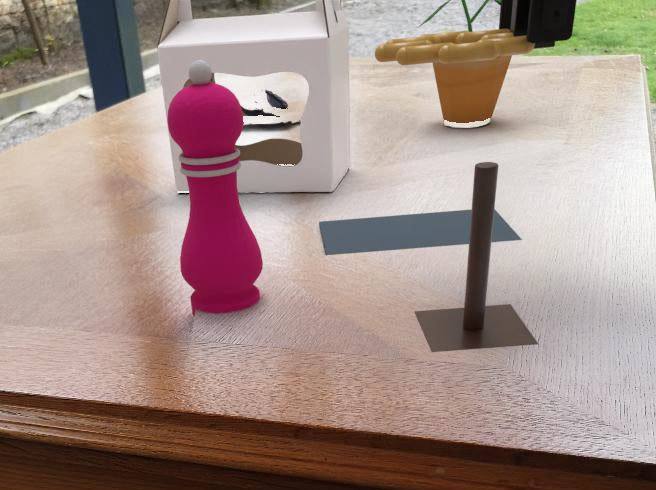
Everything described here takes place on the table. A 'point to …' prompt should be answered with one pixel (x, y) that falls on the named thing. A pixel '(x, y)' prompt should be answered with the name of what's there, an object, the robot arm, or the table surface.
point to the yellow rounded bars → (464, 43)
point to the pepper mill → (213, 197)
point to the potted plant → (469, 82)
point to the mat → (406, 232)
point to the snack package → (272, 100)
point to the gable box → (262, 59)
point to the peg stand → (477, 287)
